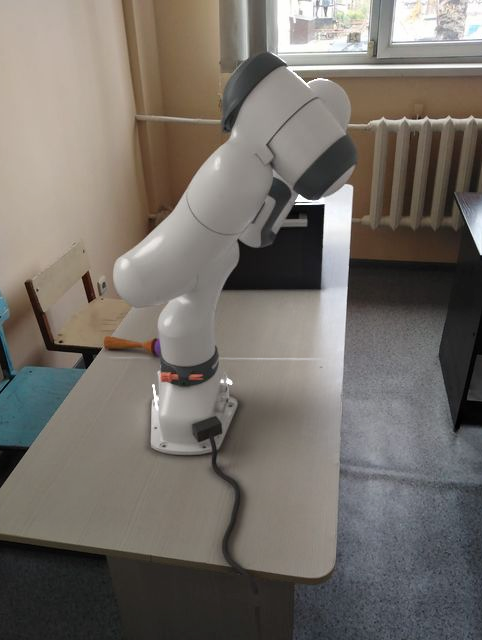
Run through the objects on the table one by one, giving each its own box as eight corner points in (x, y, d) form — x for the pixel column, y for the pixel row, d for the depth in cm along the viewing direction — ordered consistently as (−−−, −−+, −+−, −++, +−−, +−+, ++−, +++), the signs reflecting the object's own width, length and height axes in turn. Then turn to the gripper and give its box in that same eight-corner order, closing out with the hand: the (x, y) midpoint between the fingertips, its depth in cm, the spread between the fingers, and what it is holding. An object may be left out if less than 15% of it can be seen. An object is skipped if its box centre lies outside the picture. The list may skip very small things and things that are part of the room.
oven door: (321, 298, 155) (326, 210, 141) (184, 298, 159) (175, 213, 145) (320, 287, 161) (324, 202, 147) (188, 287, 165) (179, 205, 151)
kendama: (112, 327, 140) (182, 332, 133) (115, 349, 142) (184, 355, 135) (99, 335, 134) (171, 341, 128) (102, 357, 137) (173, 364, 130)
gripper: (287, 178, 126) (286, 205, 139) (200, 181, 127) (207, 207, 141) (287, 203, 124) (286, 228, 138) (199, 206, 126) (206, 230, 140)
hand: (245, 218), depth 139 cm, fingers closed
